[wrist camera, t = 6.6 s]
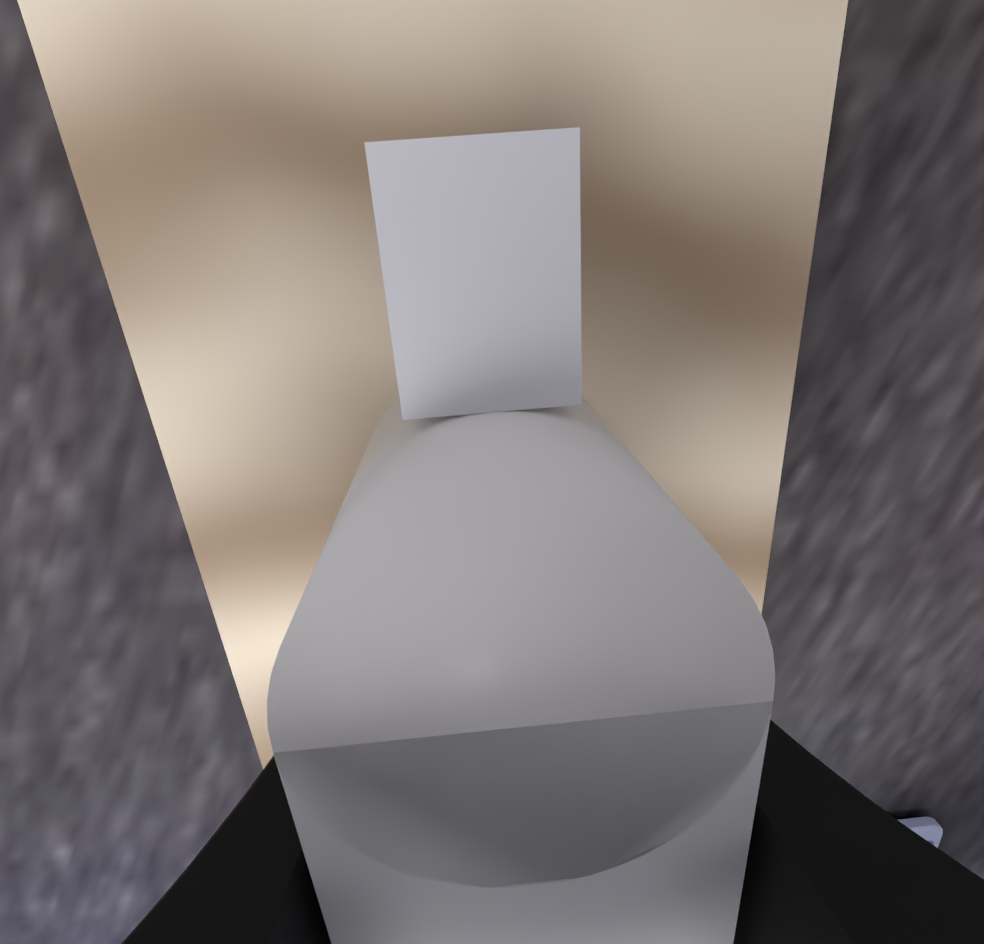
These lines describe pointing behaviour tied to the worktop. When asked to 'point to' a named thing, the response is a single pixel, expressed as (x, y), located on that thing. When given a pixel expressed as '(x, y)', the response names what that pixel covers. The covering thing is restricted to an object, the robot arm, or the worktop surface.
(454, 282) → the plug
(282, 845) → the robot arm
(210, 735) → the worktop surface
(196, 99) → the pad
